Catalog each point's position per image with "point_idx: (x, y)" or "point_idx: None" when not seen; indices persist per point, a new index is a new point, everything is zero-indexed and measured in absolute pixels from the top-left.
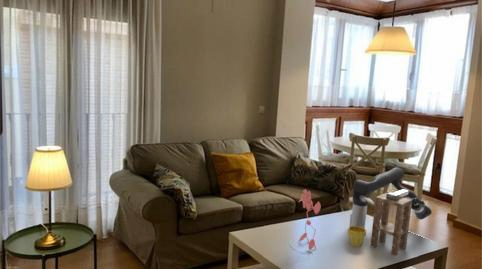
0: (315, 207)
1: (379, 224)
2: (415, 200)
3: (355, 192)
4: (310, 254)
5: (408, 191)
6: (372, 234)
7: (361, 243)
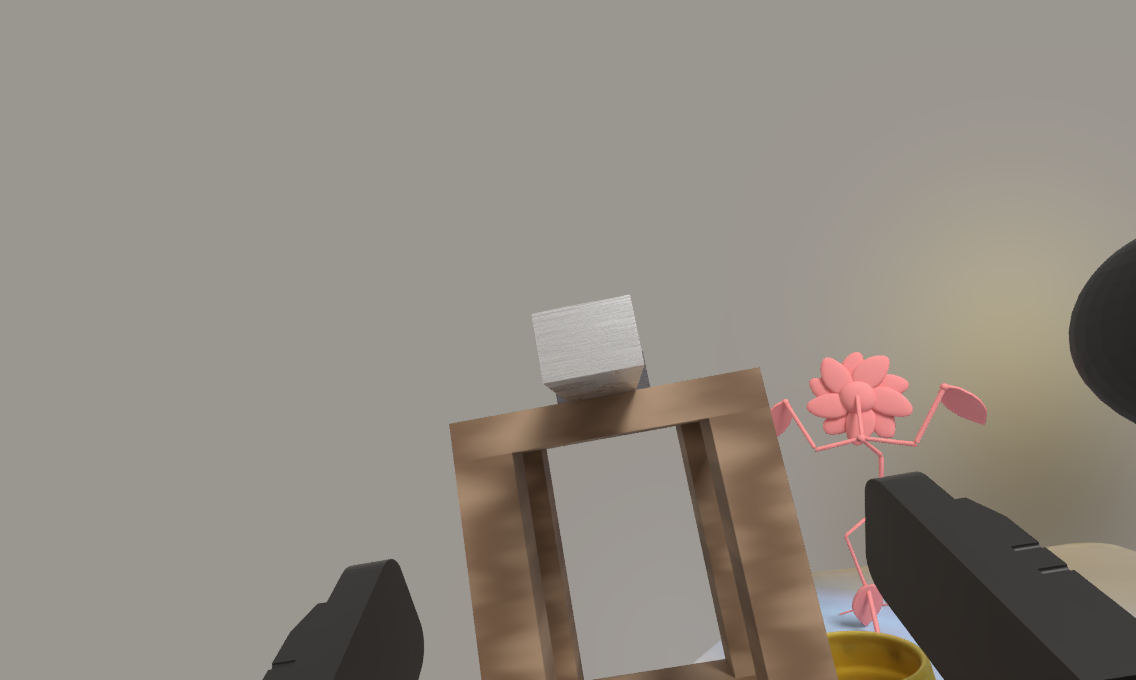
0: (784, 419)
1: (729, 652)
2: (419, 626)
3: None
4: (830, 622)
5: (534, 330)
6: None
7: None
